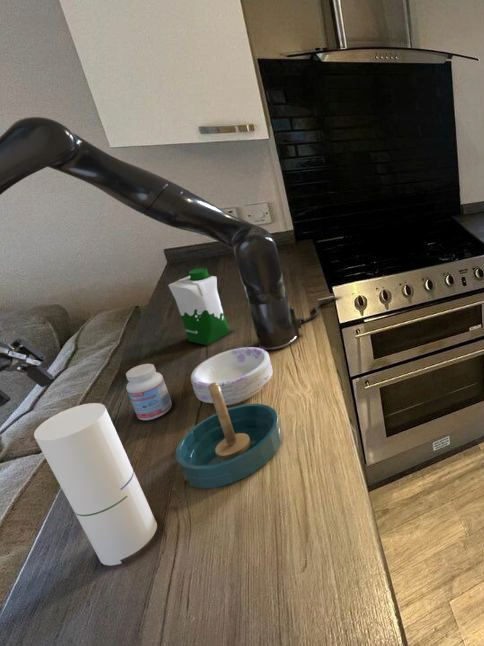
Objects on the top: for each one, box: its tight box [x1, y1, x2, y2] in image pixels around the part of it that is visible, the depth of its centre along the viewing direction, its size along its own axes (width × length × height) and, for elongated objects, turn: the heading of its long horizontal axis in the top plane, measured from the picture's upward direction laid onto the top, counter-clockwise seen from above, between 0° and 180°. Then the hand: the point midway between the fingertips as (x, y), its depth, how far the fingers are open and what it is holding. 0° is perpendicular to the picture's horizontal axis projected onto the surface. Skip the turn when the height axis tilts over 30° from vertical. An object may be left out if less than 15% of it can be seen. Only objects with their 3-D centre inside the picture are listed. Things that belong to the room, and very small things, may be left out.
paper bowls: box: [190, 346, 274, 406], centre depth 102 cm, size 15×15×8 cm
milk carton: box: [167, 267, 231, 346], centre depth 122 cm, size 9×9×20 cm
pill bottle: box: [125, 363, 173, 421], centre depth 96 cm, size 6×6×11 cm
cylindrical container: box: [33, 402, 158, 566], centre depth 66 cm, size 7×7×25 cm
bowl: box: [174, 403, 283, 489], centre depth 86 cm, size 16×16×6 cm
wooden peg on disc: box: [209, 382, 252, 463], centre depth 84 cm, size 6×6×17 cm
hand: (28, 393), depth 81 cm, fingers open, 8 cm apart
